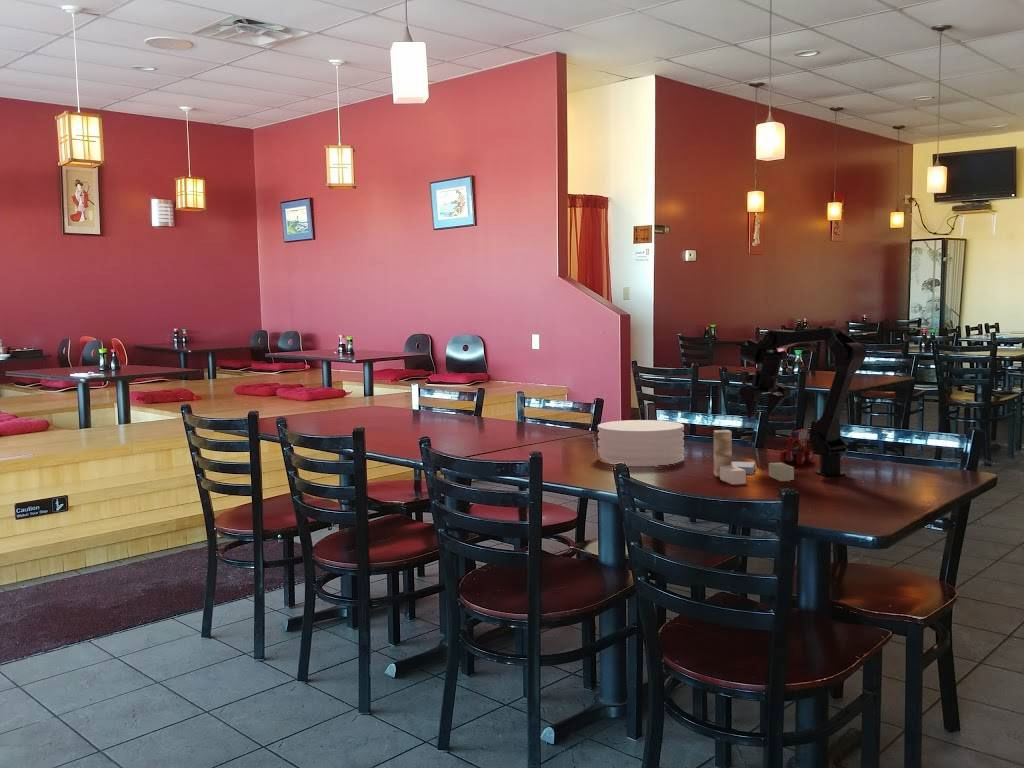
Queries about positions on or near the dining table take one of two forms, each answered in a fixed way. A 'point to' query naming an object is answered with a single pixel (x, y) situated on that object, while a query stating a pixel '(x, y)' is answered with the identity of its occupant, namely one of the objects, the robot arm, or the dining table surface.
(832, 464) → the robot arm
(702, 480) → the dining table surface
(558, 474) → the dining table surface
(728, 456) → the birch pillar
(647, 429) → the plate stack
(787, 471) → the sage brick
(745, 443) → the dining table surface
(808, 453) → the toy fire truck
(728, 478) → the cream brick
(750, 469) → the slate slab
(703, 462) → the dining table surface
